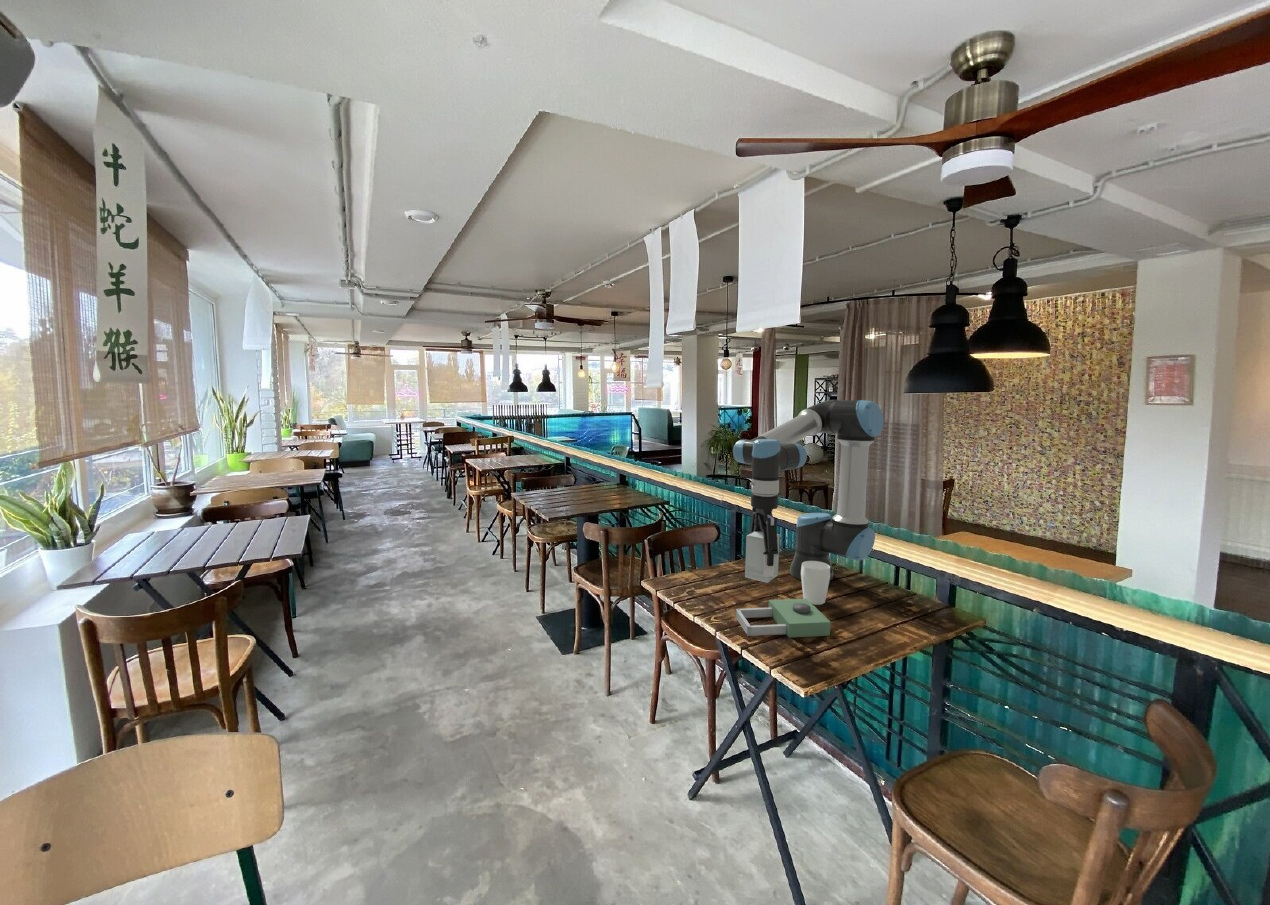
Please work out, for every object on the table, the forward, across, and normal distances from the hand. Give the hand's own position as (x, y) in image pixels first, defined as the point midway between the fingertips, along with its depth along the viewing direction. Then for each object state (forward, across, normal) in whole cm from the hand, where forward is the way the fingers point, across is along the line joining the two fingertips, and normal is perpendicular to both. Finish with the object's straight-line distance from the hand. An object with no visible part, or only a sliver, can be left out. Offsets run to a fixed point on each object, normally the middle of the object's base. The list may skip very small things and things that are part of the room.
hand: (762, 569), depth 147 cm
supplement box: (+2, 0, 0) cm, 2 cm away
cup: (+17, -15, +23) cm, 32 cm away
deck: (+17, 0, +6) cm, 18 cm away
